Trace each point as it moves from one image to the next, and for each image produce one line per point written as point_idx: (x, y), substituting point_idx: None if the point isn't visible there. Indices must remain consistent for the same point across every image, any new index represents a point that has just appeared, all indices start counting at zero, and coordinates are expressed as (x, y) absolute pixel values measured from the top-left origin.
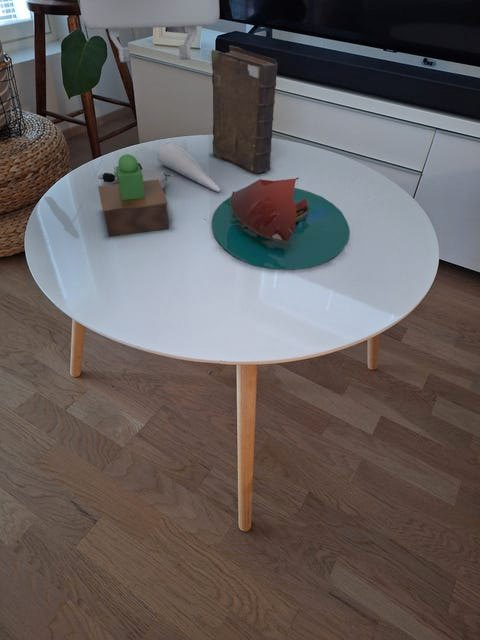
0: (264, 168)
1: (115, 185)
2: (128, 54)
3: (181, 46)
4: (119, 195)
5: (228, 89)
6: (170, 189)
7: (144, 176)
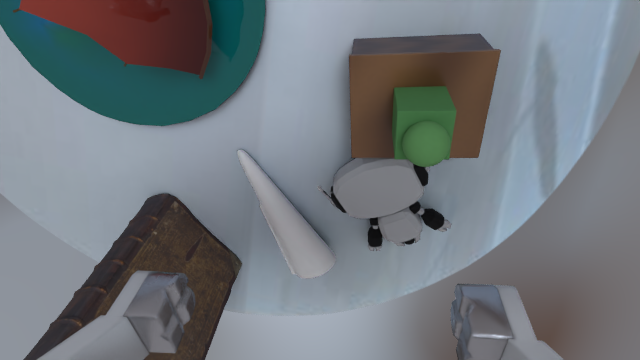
0: (153, 198)
1: None
2: (472, 313)
3: (156, 332)
4: None
5: None
6: (327, 178)
7: (372, 192)
